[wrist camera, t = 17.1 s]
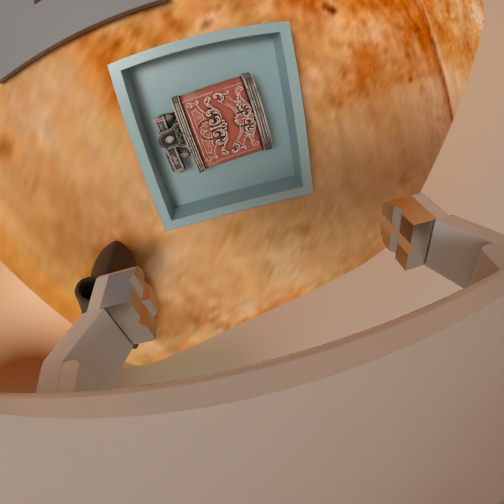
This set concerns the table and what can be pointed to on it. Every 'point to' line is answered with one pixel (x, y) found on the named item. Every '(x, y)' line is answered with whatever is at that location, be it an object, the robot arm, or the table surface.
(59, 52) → the table surface
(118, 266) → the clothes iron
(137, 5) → the gray plate with hole
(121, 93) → the parts tray
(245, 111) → the lighter
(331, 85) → the table surface
